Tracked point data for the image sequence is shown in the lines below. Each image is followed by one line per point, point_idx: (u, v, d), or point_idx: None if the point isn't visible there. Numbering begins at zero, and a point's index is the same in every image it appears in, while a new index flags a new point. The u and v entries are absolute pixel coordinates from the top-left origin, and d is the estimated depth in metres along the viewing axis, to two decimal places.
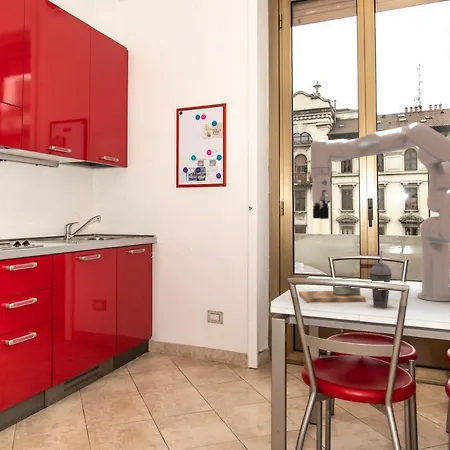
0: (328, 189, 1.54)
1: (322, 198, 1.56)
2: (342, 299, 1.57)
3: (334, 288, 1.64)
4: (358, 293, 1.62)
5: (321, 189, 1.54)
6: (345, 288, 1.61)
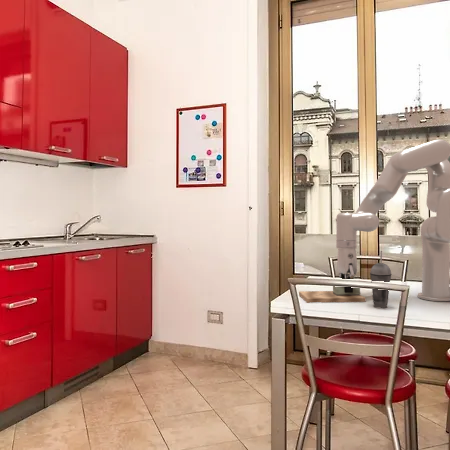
0: (354, 262, 1.59)
1: (348, 271, 1.61)
2: (342, 299, 1.57)
3: (334, 288, 1.64)
4: (358, 293, 1.62)
5: (347, 262, 1.59)
6: None
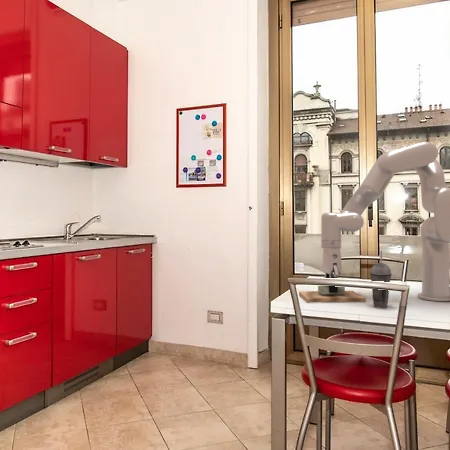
0: (339, 262, 1.58)
1: (332, 271, 1.61)
2: (342, 299, 1.57)
3: (319, 288, 1.64)
4: (343, 293, 1.61)
5: (332, 262, 1.58)
6: None
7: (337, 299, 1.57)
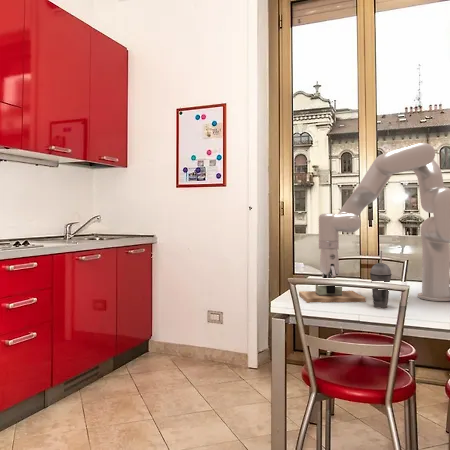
0: (336, 263, 1.58)
1: None
2: (342, 299, 1.57)
3: (316, 288, 1.64)
4: (340, 293, 1.61)
5: (329, 263, 1.58)
6: None
7: (337, 299, 1.57)
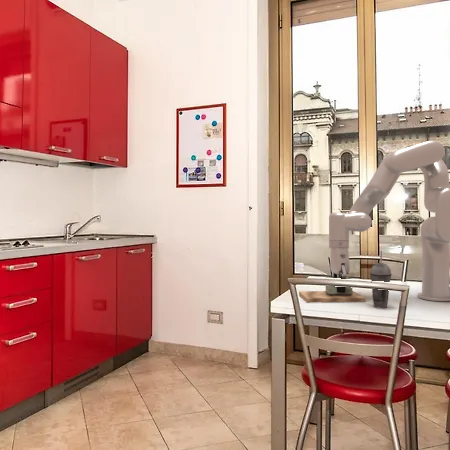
0: (347, 262, 1.59)
1: (340, 271, 1.61)
2: (342, 299, 1.57)
3: (327, 287, 1.64)
4: (351, 292, 1.62)
5: (340, 262, 1.58)
6: None
7: (337, 299, 1.57)
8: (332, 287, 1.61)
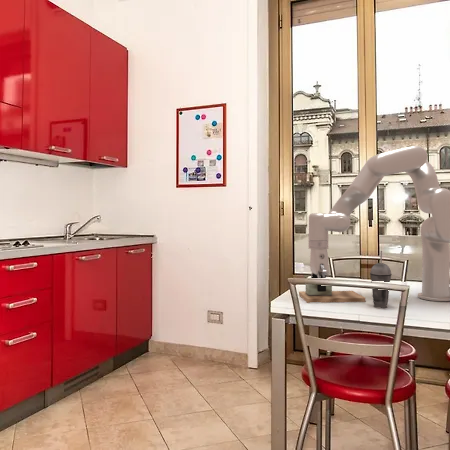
0: (325, 262, 1.58)
1: (320, 270, 1.60)
2: (342, 299, 1.57)
3: (306, 288, 1.64)
4: (330, 293, 1.61)
5: (319, 262, 1.58)
6: None
7: (337, 299, 1.57)
8: (311, 288, 1.61)
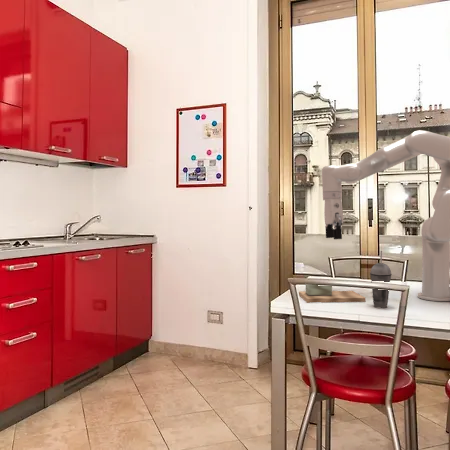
0: (340, 211, 1.66)
1: (335, 220, 1.67)
2: (342, 299, 1.57)
3: (306, 288, 1.64)
4: (330, 293, 1.61)
5: (334, 211, 1.65)
6: (317, 288, 1.61)
7: (337, 299, 1.57)
8: (311, 288, 1.61)
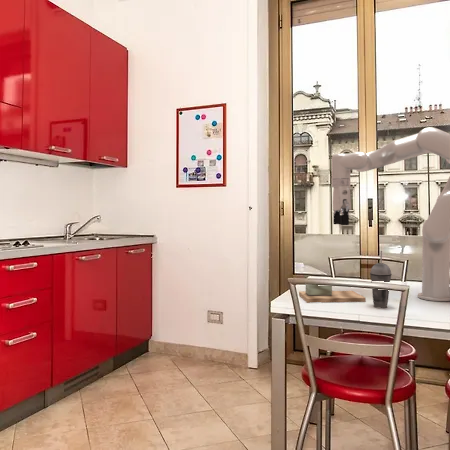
0: (348, 198, 1.71)
1: (343, 206, 1.73)
2: (342, 299, 1.57)
3: (306, 288, 1.64)
4: (330, 293, 1.61)
5: (342, 198, 1.71)
6: (317, 288, 1.61)
7: (337, 299, 1.57)
8: (311, 288, 1.61)
